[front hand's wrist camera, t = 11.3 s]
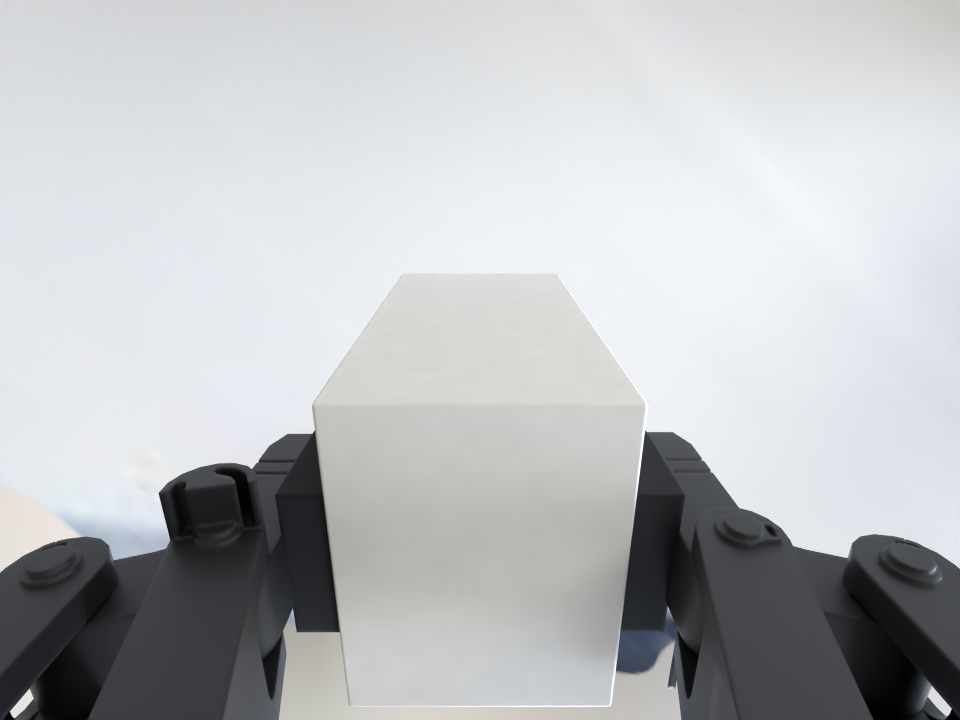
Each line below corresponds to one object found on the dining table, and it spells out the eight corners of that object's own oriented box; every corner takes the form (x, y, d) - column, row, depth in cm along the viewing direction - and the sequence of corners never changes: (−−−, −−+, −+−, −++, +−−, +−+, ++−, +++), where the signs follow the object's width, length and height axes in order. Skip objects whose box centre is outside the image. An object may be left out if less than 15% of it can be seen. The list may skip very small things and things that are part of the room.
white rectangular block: (411, 447, 18) (348, 708, 9) (402, 273, 16) (310, 403, 7) (548, 447, 18) (611, 707, 9) (557, 273, 16) (649, 403, 7)
